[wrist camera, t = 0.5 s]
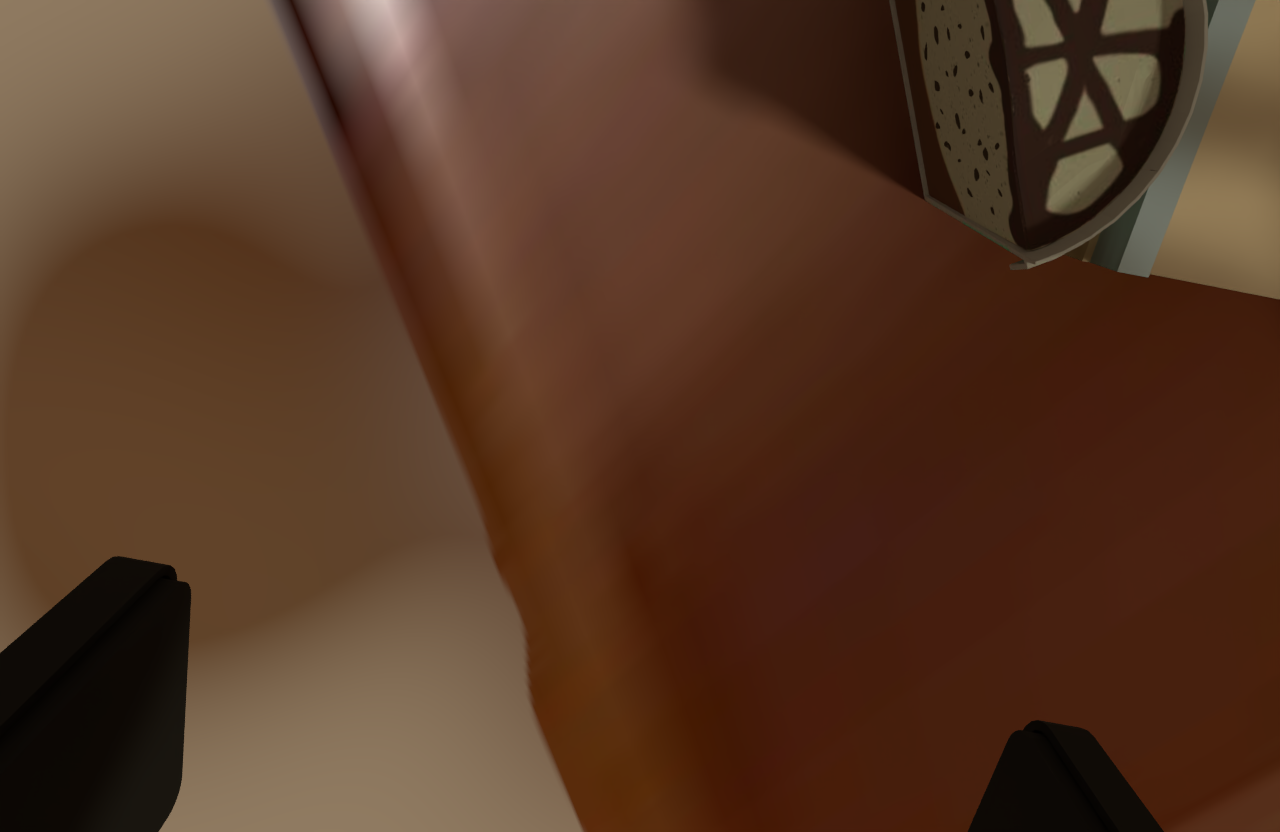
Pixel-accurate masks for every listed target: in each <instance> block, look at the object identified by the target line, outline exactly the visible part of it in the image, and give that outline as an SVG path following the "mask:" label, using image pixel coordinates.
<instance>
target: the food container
mask: <svg viewBox="0 0 1280 832" xmlns="http://www.w3.org/2000/svg"><path fill="white" fill-rule="evenodd" d="M889 2H890V8H891V14H892V19H893V25H894V30H895V36H896V42H897V47H898V53H899V58H900V64H901V70H902V75H903V81H904V86H905V92H906V98H907V103H908V109H909V114H910V120H911V126H912V131H913V137H914V142H915V148H916V154H917V159H918V165H919V170H920V176H921V181H922V187H923V193H924V198H925V201H927V202H928V203H930V204H932V205H933V206H935V207H937V208H938V209H940V210H942V211H943V212H945V213H947V214H948V215H950V216H952V217H953V218H955V219H957V220H958V221H960V222H962V223H963V224H965V225H967V226H968V227H970V228H972V229H973V230H975V231H977V232H978V233H980V234H982V235H983V236H985V237H987V238H988V239H990V240H992V241H993V242H995V243H997V244H998V245H1000V246H1002V247H1003V248H1005V249H1007V250H1008V251H1010V252H1012V253H1013V254H1015V255H1017V256H1018V257H1020V258H1022V259H1023V260H1021V261H1019V262H1016V263H1013V264H1011V265H1010V269H1011V270H1016V269H1029V268H1032V267H1034V266H1037V265H1040V264H1043V263H1045V262H1048V261H1051V260H1053V259H1056V258H1058V257H1059V256H1061V255H1063V254H1065V253H1067V252H1069V251H1071V250H1073V249H1075V248H1077V247H1078V246H1080V245H1082V244H1084V243H1085V242H1087V241H1089V240H1090V239H1092V238H1093V237H1095V236H1096V235H1097V234H1099V233H1100V232H1101V231H1103V230H1104V229H1106V228H1107V227H1108V226H1110V225H1111V224H1113V223H1114V222H1115V221H1117V220H1118V219H1119V218H1120V217H1121V216H1122V215H1123V214H1124V213H1125V212H1126V211H1127V210H1128V209H1129V208H1130V207H1131V206H1132V205H1134V204H1135V203H1136V202H1137V201H1138V200H1139V199H1140V198H1141V196H1142V195H1143V194H1144V193H1145V192H1146V190H1147V189H1148V188H1149V187H1150V185H1151V184H1152V183H1153V182H1154V181H1155V179H1156V178H1157V177H1158V176H1159V174H1160V173H1161V172H1162V170H1163V169H1164V167H1165V165H1166V164H1167V162H1168V161H1169V159H1170V157H1171V156H1172V154H1173V152H1174V151H1175V149H1176V148H1177V146H1178V144H1179V142H1180V140H1181V138H1182V136H1183V134H1184V131H1185V129H1186V127H1187V125H1188V123H1189V120H1190V118H1191V116H1192V114H1193V111H1194V107H1195V104H1196V101H1197V97H1198V94H1199V91H1200V87H1201V84H1202V81H1203V75H1204V68H1205V62H1206V55H1207V49H1208V9H1207V3H1206V0H889Z"/></svg>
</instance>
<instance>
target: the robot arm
mask: <svg viewBox="0 0 1280 832" xmlns="http://www.w3.org/2000/svg"><path fill="white" fill-rule="evenodd" d="M190 606H191V589H190V586H189V584H188V583H186V582H181V581H177V575H176V572H175V569H174V568H173V567H172V566H170V565H165V564H159V563H154V562H148V561H143V560H137V559H132V558H126V557H120V556H118V557H112V558H111V559H109V560H107V561H106V562H105V563H104V564H102V565H101V566H100V567H99V568H98V569H97V570H96V571H94V572H93V573H92V574H91V575H90V576H89V577H87V578H86V579H85V580H84V581H83V582H82V583H80V584H79V585H78V586H77V587H76V588H75V589H74V590H72V591H71V592H70V593H69V594H68V595H67V596H65V597H64V598H63V599H62V600H61V601H60V602H59V603H57V604H56V605H55V606H54V607H53V608H52V609H51V610H49V611H48V612H47V613H46V614H45V615H44V616H43V617H41V618H40V619H39V620H38V621H37V622H36V623H34V624H33V625H32V626H31V627H30V628H29V629H27V630H26V631H25V632H24V633H23V634H22V635H21V636H20V637H18V638H17V639H16V640H15V641H14V642H12V643H11V644H10V645H9V646H8V647H7V648H6V649H4V650H3V651H2V652H1V653H0V832H158V831H159V830H160V829H161V827H162V825H163V824H164V822H165V821H166V819H167V818H168V816H169V814H170V813H171V811H172V809H173V806H174V804H175V802H176V799H177V796H178V793H179V790H180V786H181V780H182V767H183V747H184V745H183V744H184V727H185V707H186V687H187V667H188V647H189V627H190ZM968 832H1164V831H1163V830H1162V829H1161V827H1160V826H1159V824H1158V823H1157V822H1156V820H1155V819H1154V818H1153V816H1152V815H1151V814H1150V812H1149V811H1148V809H1147V808H1146V807H1145V805H1144V804H1143V803H1142V801H1141V800H1140V799H1139V797H1138V796H1137V795H1136V793H1135V792H1134V790H1133V789H1132V788H1131V786H1130V785H1129V784H1128V782H1127V781H1126V780H1125V778H1124V777H1123V776H1122V774H1121V773H1120V771H1119V770H1118V769H1117V767H1116V766H1115V765H1114V763H1113V762H1112V761H1111V759H1110V758H1109V756H1108V755H1107V754H1106V752H1105V751H1104V750H1103V748H1102V747H1101V746H1100V744H1099V743H1098V742H1097V740H1096V739H1095V737H1094V736H1093V735H1092V734H1091V733H1090V732H1089V731H1087V730H1085V729H1082V728H1079V727H1073V726H1067V725H1062V724H1056V723H1051V722H1045V721H1039V720H1036V721H1031V722H1030V723H1029V724H1028V725H1026V726H1025V728H1024V730H1023V731H1022V730H1018V731H1015V732H1014V733H1013V734H1011V736H1010V738H1009V739H1008V741H1007V744H1006V746H1005V748H1004V750H1003V753H1002V755H1001V757H1000V759H999V762H998V764H997V766H996V769H995V771H994V773H993V775H992V778H991V780H990V782H989V784H988V787H987V789H986V791H985V794H984V796H983V798H982V800H981V803H980V805H979V807H978V809H977V812H976V814H975V816H974V818H973V821H972V823H971V825H970V828H969V830H968Z"/></svg>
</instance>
